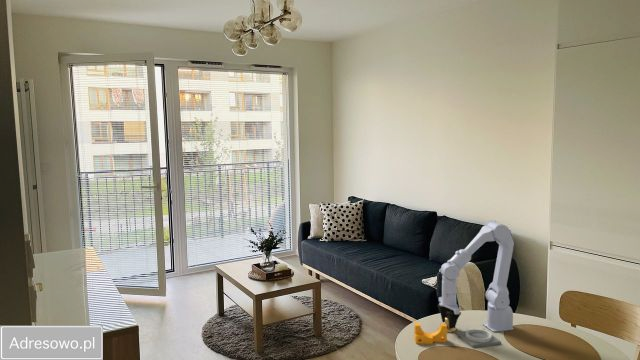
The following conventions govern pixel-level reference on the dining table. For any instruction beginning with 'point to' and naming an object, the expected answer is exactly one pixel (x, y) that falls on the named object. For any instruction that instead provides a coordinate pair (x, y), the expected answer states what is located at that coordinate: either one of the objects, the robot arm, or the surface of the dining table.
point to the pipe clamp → (430, 335)
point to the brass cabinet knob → (449, 330)
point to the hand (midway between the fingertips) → (448, 324)
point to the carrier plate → (478, 337)
